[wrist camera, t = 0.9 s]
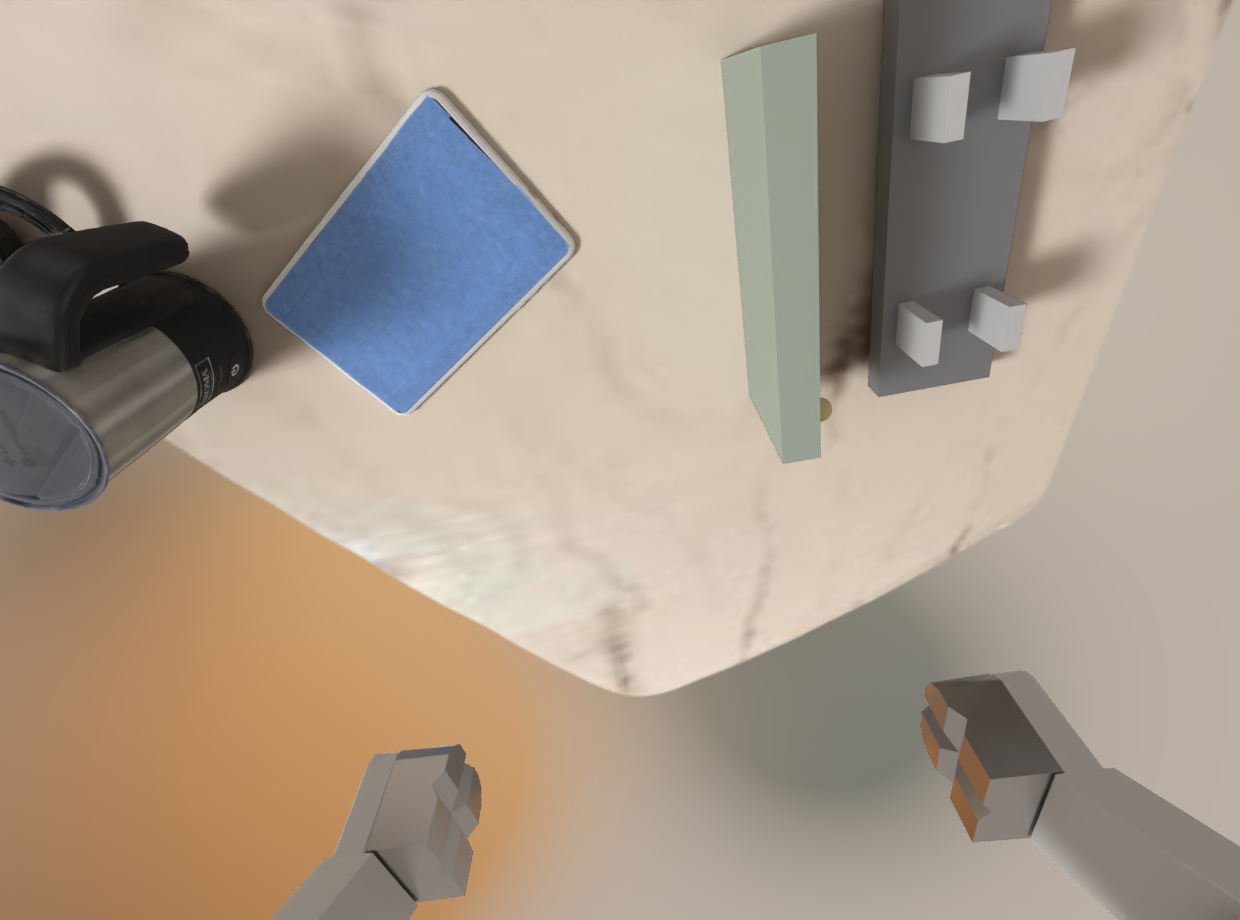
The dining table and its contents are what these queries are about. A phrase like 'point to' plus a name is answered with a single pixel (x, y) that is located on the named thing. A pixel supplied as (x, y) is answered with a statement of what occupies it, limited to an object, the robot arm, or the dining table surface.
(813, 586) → the dining table surface
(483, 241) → the tablet computer
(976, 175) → the hinge base
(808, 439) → the cabinet door
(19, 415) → the milk frother
